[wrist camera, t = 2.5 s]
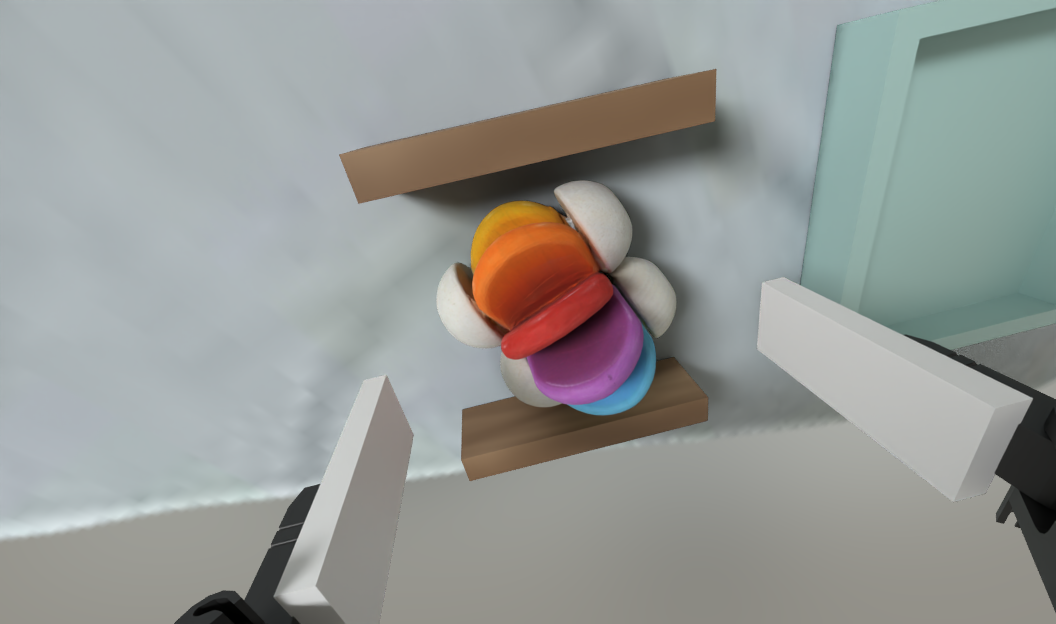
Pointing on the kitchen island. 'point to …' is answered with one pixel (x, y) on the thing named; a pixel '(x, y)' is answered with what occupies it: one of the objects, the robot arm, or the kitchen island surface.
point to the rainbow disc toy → (562, 301)
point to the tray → (940, 171)
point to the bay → (520, 139)
